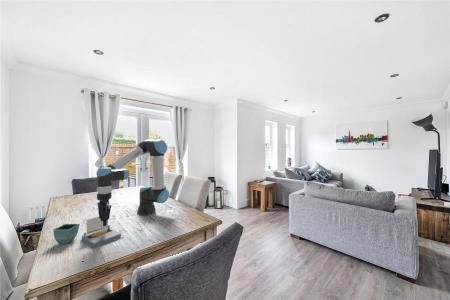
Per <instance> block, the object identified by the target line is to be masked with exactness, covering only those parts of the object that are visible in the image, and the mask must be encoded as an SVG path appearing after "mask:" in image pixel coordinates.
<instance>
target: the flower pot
mask: <svg viewBox="0 0 450 300" xmlns="http://www.w3.org/2000/svg"><path fill="white" fill-rule="evenodd" d="M79 229H80V223H65V224H62V225H60V226H59V227H57V228H56V227H55V229H52V230H53V237H54V240H55V241H56V242H57V243H58V244H69V243H70V242H72V241H74V240H75V238H76V237H77V236H78V233H79Z"/></svg>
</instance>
